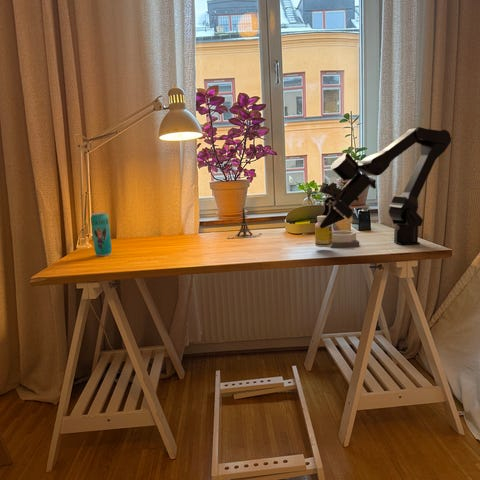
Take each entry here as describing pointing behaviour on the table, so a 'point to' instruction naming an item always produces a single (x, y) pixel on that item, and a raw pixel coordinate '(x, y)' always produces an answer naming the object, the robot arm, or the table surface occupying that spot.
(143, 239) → the table surface
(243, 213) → the eiffel tower figurine
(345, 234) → the lens mount
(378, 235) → the table surface
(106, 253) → the beverage can
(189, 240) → the table surface
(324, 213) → the robot arm
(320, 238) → the supplement bottle
